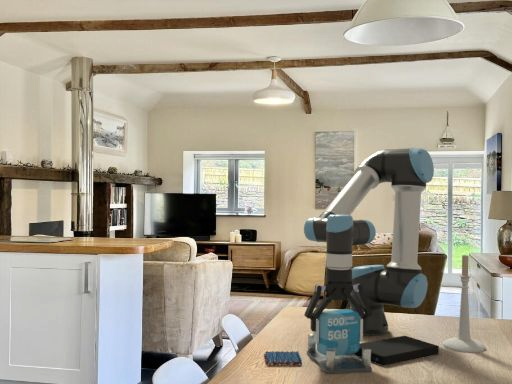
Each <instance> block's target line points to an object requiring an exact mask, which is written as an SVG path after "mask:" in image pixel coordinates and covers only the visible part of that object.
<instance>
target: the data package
mask: <svg viewBox="0 0 512 384" xmlns="http://www.w3.org/2000/svg"><path fill="white" fill-rule="evenodd" d="M317 320H319V343H318V344H316V350H318V352H320V353H322V354H324V355H326V350H335V356H337V355H344V354H351V353H356V352H358V350H359V348H360V315H359V313H358V312H355V311H352V310H350V308H343V309H334V310H323V312H322V313H321V314H320V316H319V317H318V318H317Z"/></svg>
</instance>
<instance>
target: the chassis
mask: <svg viewBox="0 0 512 384" xmlns="http://www.w3.org/2000/svg"><path fill="white" fill-rule="evenodd" d="M306 354H307V356H308V357H309V358H310V359H311V360H312V361H314V363H315V364H316V365H317V366H318V367H319V368H321V369H322V371H323V372H324V373H325V374H328V375H329V374H331V375H332V374H347V373H348V374H349V373H366V372H367V373H368V372H372V371H373V368H372V361H371V349H370V348H362V358H361V357H359V356H356V355H355V354H353V353H351V354H344V355H337V356H335V350H326V355H324V354H322V353H320V352H318V350H317V344H316V343H315V342H314V333H308V334H307V350H306Z"/></svg>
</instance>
